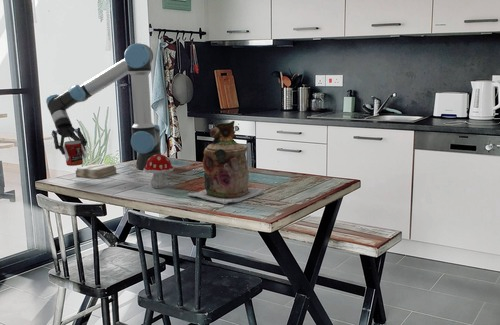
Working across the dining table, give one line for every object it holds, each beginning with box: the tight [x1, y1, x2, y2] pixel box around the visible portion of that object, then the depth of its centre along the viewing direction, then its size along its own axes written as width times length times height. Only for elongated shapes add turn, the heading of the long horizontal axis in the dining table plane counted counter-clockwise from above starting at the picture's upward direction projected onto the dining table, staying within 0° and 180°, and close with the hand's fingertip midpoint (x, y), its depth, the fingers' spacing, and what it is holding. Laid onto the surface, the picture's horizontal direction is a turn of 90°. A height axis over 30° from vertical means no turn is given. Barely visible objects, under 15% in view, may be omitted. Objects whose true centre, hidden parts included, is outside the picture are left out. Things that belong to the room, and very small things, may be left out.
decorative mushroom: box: [143, 153, 175, 189], centre depth 242 cm, size 14×14×15 cm
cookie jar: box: [187, 120, 266, 205], centre depth 223 cm, size 25×25×32 cm
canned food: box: [63, 140, 84, 167], centre depth 256 cm, size 8×8×11 cm
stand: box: [75, 163, 117, 179], centre depth 271 cm, size 14×14×4 cm
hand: (76, 157), depth 254 cm, fingers closed on canned food, 8 cm apart
